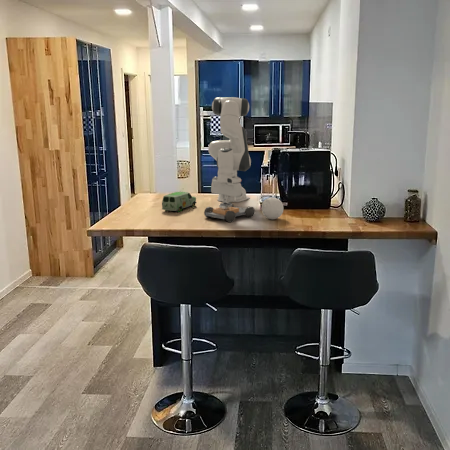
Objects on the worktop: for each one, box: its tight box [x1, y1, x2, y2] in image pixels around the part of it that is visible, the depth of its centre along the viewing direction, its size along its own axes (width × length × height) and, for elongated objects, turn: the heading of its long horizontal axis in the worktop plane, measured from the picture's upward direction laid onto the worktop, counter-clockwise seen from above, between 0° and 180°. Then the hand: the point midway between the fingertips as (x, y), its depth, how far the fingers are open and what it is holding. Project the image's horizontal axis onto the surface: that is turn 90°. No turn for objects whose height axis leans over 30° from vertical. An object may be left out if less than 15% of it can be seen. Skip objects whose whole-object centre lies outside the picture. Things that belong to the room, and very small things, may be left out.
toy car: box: [161, 191, 197, 213], centre depth 307 cm, size 11×25×10 cm, turn 154°
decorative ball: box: [261, 197, 284, 220], centre depth 279 cm, size 12×12×12 cm
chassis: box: [203, 202, 256, 223], centre depth 284 cm, size 24×18×6 cm
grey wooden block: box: [218, 202, 232, 211], centre depth 281 cm, size 6×4×5 cm
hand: (225, 203), depth 280 cm, fingers closed, pressing on grey wooden block
